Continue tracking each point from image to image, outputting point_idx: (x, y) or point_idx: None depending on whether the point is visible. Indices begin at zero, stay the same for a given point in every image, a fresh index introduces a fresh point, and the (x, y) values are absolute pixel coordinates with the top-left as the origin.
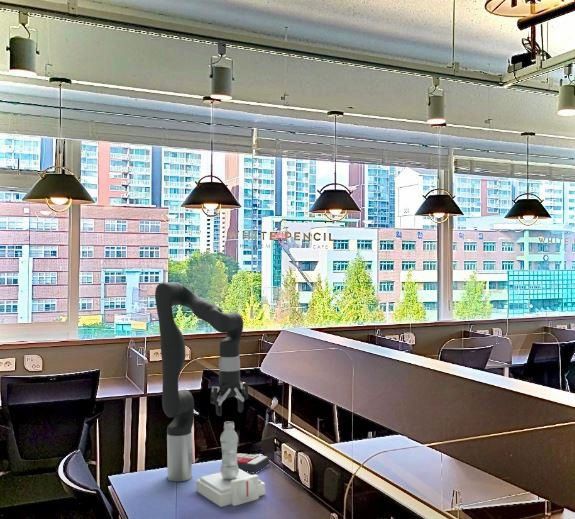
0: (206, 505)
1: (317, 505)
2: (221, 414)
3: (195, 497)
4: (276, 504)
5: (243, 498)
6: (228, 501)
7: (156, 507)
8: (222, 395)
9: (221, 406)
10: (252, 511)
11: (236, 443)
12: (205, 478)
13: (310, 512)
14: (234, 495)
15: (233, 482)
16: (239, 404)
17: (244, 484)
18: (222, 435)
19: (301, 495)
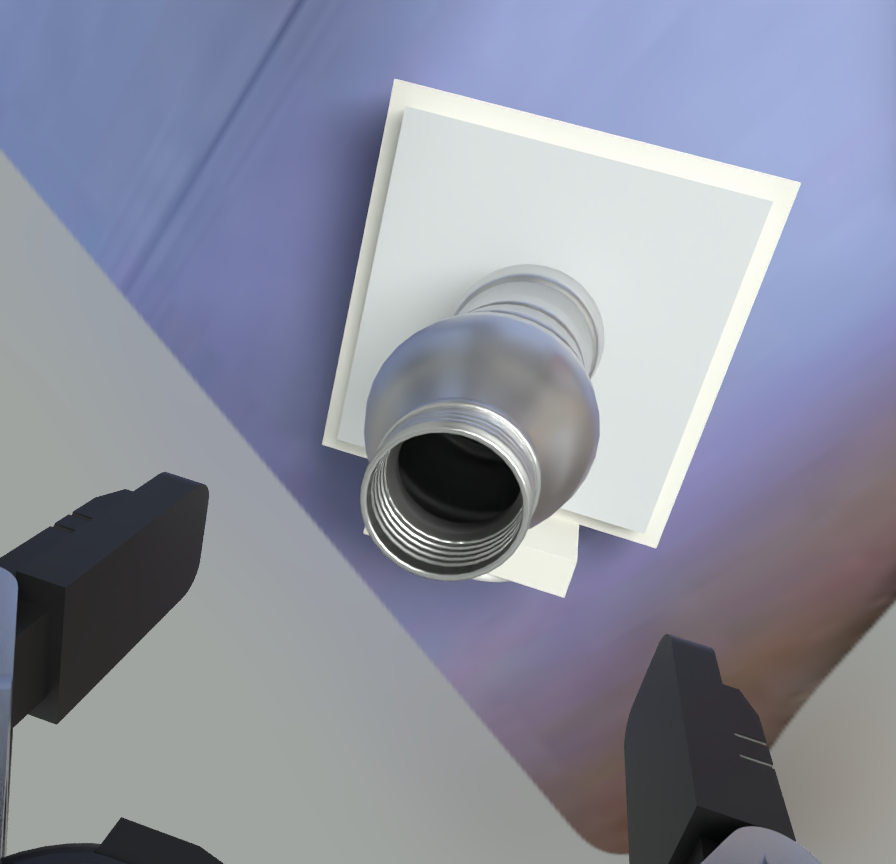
0: (306, 339)
1: None
2: (173, 597)
3: (338, 183)
4: (569, 644)
5: None
6: None
7: (87, 112)
8: (2, 821)
9: (63, 708)
10: (418, 594)
11: (513, 500)
12: (415, 168)
13: (591, 818)
14: None
15: (364, 530)
16: (654, 817)
17: None
18: (369, 418)
19: (766, 690)
